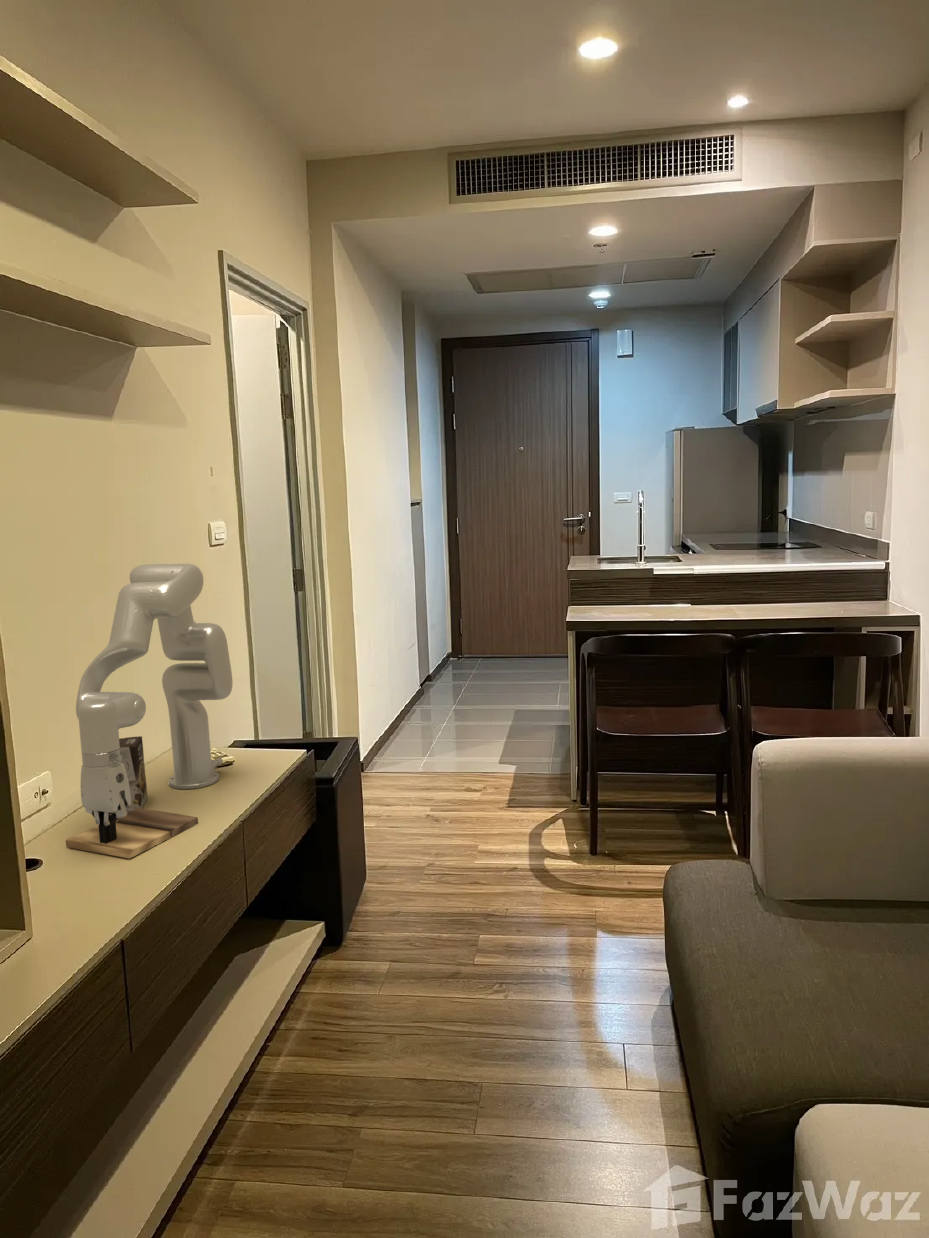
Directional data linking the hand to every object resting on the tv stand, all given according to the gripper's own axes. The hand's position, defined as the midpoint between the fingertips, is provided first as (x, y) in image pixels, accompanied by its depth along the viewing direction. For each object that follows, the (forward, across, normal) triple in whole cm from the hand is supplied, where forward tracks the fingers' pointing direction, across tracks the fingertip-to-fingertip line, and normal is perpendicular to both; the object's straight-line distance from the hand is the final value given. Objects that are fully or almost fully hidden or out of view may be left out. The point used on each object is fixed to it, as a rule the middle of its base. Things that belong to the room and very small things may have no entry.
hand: (108, 840), depth 187 cm
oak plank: (+1, 0, -3) cm, 3 cm away
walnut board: (+1, 0, -14) cm, 14 cm away
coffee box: (+1, +15, -22) cm, 27 cm away
